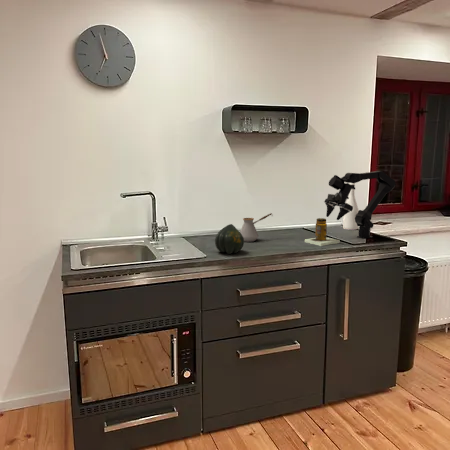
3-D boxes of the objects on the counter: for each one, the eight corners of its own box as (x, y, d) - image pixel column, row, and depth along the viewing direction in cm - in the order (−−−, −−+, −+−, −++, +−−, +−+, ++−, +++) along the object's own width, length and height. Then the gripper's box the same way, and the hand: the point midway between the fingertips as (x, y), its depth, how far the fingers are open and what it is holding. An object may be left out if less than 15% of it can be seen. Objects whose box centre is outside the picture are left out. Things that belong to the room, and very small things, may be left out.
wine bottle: (343, 230, 283) (345, 183, 278) (342, 227, 292) (343, 182, 287) (359, 230, 281) (360, 183, 276) (357, 227, 290) (358, 182, 286)
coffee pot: (243, 243, 247) (243, 216, 245) (235, 239, 258) (235, 214, 255) (277, 239, 255) (277, 214, 252) (268, 236, 265) (268, 211, 263)
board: (322, 239, 255) (322, 236, 254) (339, 242, 244) (339, 240, 243) (304, 242, 247) (304, 239, 247) (321, 246, 236) (321, 243, 236)
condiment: (329, 240, 243) (330, 219, 241) (318, 242, 239) (318, 220, 237) (320, 238, 250) (321, 217, 248) (309, 240, 245) (309, 218, 243)
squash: (216, 246, 214) (234, 221, 216) (205, 242, 228) (222, 219, 230) (237, 262, 219) (254, 238, 222) (225, 257, 233) (241, 235, 235)
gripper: (323, 185, 254) (312, 209, 254) (345, 189, 237) (332, 216, 237) (336, 193, 259) (325, 217, 259) (358, 198, 242) (346, 223, 243)
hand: (332, 218), depth 249 cm, fingers open, 9 cm apart
